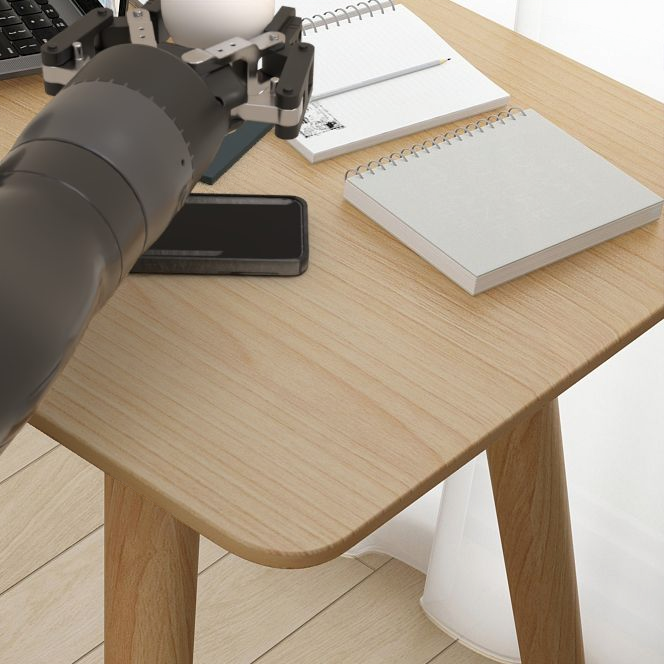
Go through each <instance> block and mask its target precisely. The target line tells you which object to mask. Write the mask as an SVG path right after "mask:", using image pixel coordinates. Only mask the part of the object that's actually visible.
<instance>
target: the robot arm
mask: <svg viewBox="0 0 664 664" xmlns="http://www.w3.org/2000/svg"><path fill="white" fill-rule="evenodd" d="M296 10H297V9H296V7H293V6H288V5H287V6H286V5H281V6H280V8H279V9H278V11H277V12H276V13H275V14H274V18H273V19H272V21H271V22H270V23H269V24H268V25H267V27H266V28H265V29H264V34H261V35H259V36H257V37H254V38H252V39H250V40H246V39H243V38H241V37H239V36H236V37H233V38H231V39H229V40H226V41H224V42H221V43H219V44H217V45H214V46H212V47H209V48H207V49H200V48H187V47H184V46H181V45H178V44H175V43H174V42H168V40H169V39H170V38H171V36H170V34H169V32H168V31H167V29H166V27H165V24H164V20H163V17H162V12H161V0H147V1H145V3H144V4H143V5H142V6H141V7H137V8H135V7H134V8H130V9H128V10H127V11H126V15H125V16H115V13H114V10H113V9H112V8H109V7H102V6H101V7H96V8H93V9H92V10H90V11H88V12H87V13H85V14H84V15H83V16H82V17H80V18H78V19H77V20H76V21H74V22H73V23H72V24H69V25H68V26H67V27H66V28H64V29H63V30H62V31H60V32H58V33H57V34H56V35H55V36H53V37H51V38H50V39H49V40H47V41H46V42H45V43H42V44H41V46H40V50H39V51H40V56H41V57H40V58H41V71H42V78H43V84H44V85H43V86H44V93H45V94H46V95H48V96H50V97H52V98H51V99H50V100H49V101H48V102H47V104H45V105H44V107H43V108H42V109H41V110H39V112H38V113H37V114H35V116H34V117H33V118H32V119H30V121H29V122H28V124H27V125H26V126H25V127H24V128H23V130H22V131H21V132H20V134H19V135H18V137H17V138H16V140H15V142H14V144H13V145H12V147H11V148H10V150H9V151H8V153H6V155H5V156H4V157H3V158H2V159H1V160H0V457H1V456H2V454H3V453H4V452H5V451H6V449H7V448H8V447H9V445H10V444H11V443H12V442H13V441H14V439H15V438H16V437H17V435H18V434H19V433H20V432H21V431H22V430H23V429H24V427H25V426H26V425H27V423H28V422H29V421H30V420H31V418H33V415H34V414H35V413H36V412H37V411H38V409H39V407H40V406H41V405H42V403H43V402H44V401H45V399H46V398H47V396H48V395H49V393H50V392H51V390H52V389H53V387H54V386H55V385H56V383H57V382H58V380H59V378H60V377H61V375H62V373H63V372H64V371H65V369H66V367H67V366H68V364H69V362H70V361H71V359H72V357H73V356H74V354H75V352H76V350H77V348H78V347H79V345H80V343H81V341H82V340H83V338H84V335H85V334H86V332H87V329H88V328H89V326H90V323H91V322H92V321H93V320H94V319H95V318H96V317H97V315H98V314H99V313H100V312H101V311H102V310H103V309H104V307H105V306H106V305H107V304H108V303H109V301H110V300H111V298H113V296H114V294H115V293H116V292H117V290H118V289H119V287H120V286H121V285H122V283H123V282H124V280H125V279H126V278H127V276H128V275H129V273H130V272H129V271H130V270H131V269H132V267H133V266H134V264H135V263H136V261H137V260H138V258H139V257H140V256H141V255H142V254H143V253H144V252H145V251H146V250H147V249H148V248H149V247H150V246H152V244H153V243H154V242H155V241H156V240H157V239H158V238H159V237H160V236H161V234H162V233H163V232H164V231H165V229H166V228H167V227H168V225H169V224H170V222H171V221H172V219H173V218H174V216H175V215H176V213H177V212H178V211H179V210H180V209H181V208H182V207H183V206H184V204H185V202H186V200H187V197H188V196H189V194H190V193H193V190H194V188H195V187H196V186H197V184H198V183H199V182H200V181H199V180H200V178H201V177H202V176H203V174H204V173H205V171H206V170H207V168H208V167H209V165H210V164H211V162H212V161H213V159H214V158H215V156H216V154H217V152H218V150H219V148H220V146H221V143H222V141H223V139H224V137H225V135H227V134H228V133H230V132H232V131H234V130H236V129H239V128H240V127H242V126H243V125H244V123H245V122H246V120H248V121H256V122H265V123H272V124H275V126H274V136H275V137H276V138H278V139H280V140H283V141H284V140H285V141H290V140H291V141H292V140H295V139H296V138H298V137H299V134H300V132H301V128H302V125H303V123H304V119H305V116H306V113H307V111H308V110H307V109H308V107H309V104H310V100H311V98H312V97H311V96H312V93H313V90H314V71H315V70H314V69H315V52H316V51H315V50H316V47H315V45H313V44H312V43H310V42H305V41H303V39H302V38H303V19H302V17H301V16H297V11H296ZM260 59H261V68H259V62H260ZM230 63H231V65H230Z"/></svg>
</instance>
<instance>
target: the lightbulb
mask: <svg viewBox="0 0 664 664" xmlns="http://www.w3.org/2000/svg"><path fill="white" fill-rule="evenodd" d="M275 7H276V1H275V0H161V12H162V17H163V20H164V24H165V27H166V29H167V31H168V32H169V34H170V36H171V37H170V38H171V40H172V41H173V42H172V43H175V44H178V45H181V46H184V47H187V48H200V49H207V48H209V47H212V46H214V45H217V44H219V43H221V42H224V41H226V40H229V39H231V38H233V37H236V36H239V37H241V38H243V39H246V40H250V39H252V38H254V37H257V36H259V35H261V34H264V29H265V28H266V27H267V25H268V24H269V23H270V22H271V21H272V19H273V18H274V16H275V14H276V13H275V12H276V11H275V10H276V8H275ZM230 65H231V63H230ZM236 130H237V129H236ZM234 131H235V130H234ZM234 131H232V132H234ZM232 132H230V133H232ZM230 133H228V134H230ZM225 136H226V135H225Z"/></svg>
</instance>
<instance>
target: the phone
mask: <svg viewBox="0 0 664 664" xmlns="http://www.w3.org/2000/svg"><path fill="white" fill-rule="evenodd" d="M309 235H310V233H309V205H308V202H307V201H306V199H304V198H303V197H300V196H298V195H291V194H257V193H256V194H255V193H254V194H253V193H220V192H219V193H215V192H213V193H212V192H191V193H190V194H189V196H188V197H187V200H186V202H185V204H184V206H183V207H182V208H181V209H180V210H179V211H178V212H177V213H176V215H175V216H174V218H173V219H172V221H171V222H170V224H169V225H168V227H167V228H166V229H165V231H164V232H163V233H162V234H161V236H160V237H159V238H158V239H157V240H156V241H155V242H154V243H153V244H152V246H150V247H149V248H148V249H147V250H146V251H145V252H144V253H143V254H142V255H141V256H140V257H139V258H138V260H137V261H136V263H135V264H134V266H133V267H132V269H131V270H130V271H129V273H161V274H162V273H165V274H166V273H167V274H169V273H170V274H207V275H208V274H211V275H212V274H213V275H216V274H217V275H258V276H260V275H262V276H296V275H297V276H298V275H301V274H303V273H304V272H305V273H306V271H307V270H308V268H309V261H310V239H309V238H310V236H309Z"/></svg>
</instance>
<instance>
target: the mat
mask: <svg viewBox="0 0 664 664" xmlns="http://www.w3.org/2000/svg"><path fill="white" fill-rule="evenodd" d="M274 128H275V124H272V123H265V122H256V121H248V120H246V122H245V123H244V125H243V126H242V127H240V128H239V129H237V130H235V131H234V132H232V133H230V134H227V135H226V136H225V137H224V139H223V141H222V143H221V146H220V148H219V150H218V152H217V154H216V156H215V158H214V159H213V161H212V162H211V164H210V165H209V167H208V168H207V170H206V171H205V173H204V174H203V176H202V177H201V178H200V180H199V181H198V182H202V183H205V184H209V185H214V184H215V183H216V182H217V181H218V180H219V179H220V178H221V177H223V175H224V174H225V173H226V172H227V171H228V170H229V169H230V168H232V167H233V166H234V165H235V164H236V163H237V162H238V161H239V160H240V159H241V158H242V157H243V156H244V155H245V154H246V153H248V152H249V151H250V150H251V148H253V147H254V146H255V145H256V144H257V143H258V142H259V141H260V140H262V138H263V137H264V136H265V135H266V134H268V133H269V132H270V131H271V130H272V129H274Z"/></svg>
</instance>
